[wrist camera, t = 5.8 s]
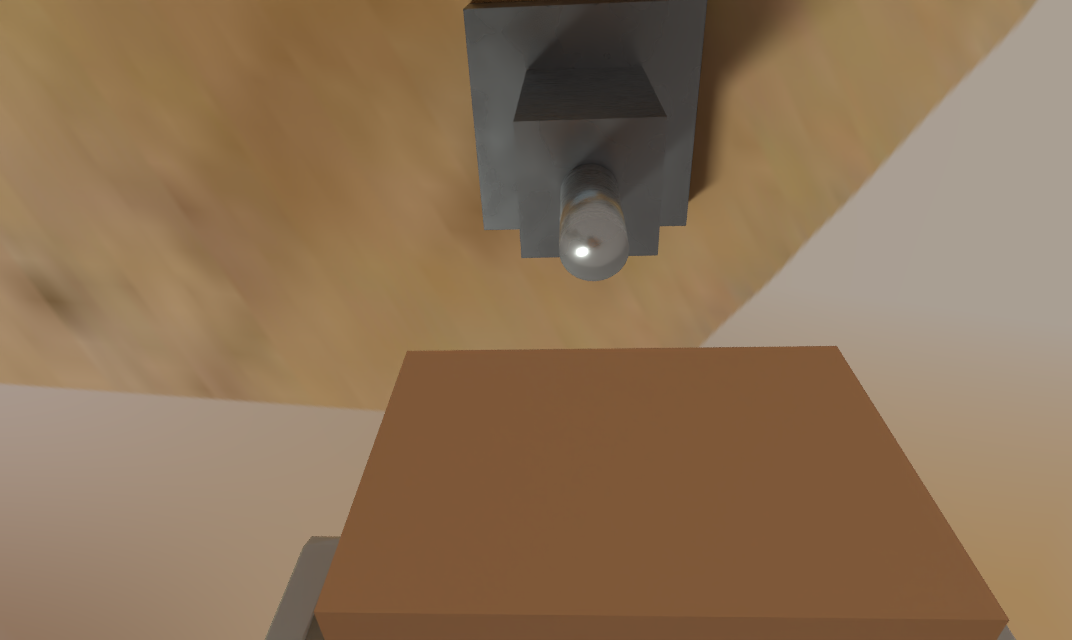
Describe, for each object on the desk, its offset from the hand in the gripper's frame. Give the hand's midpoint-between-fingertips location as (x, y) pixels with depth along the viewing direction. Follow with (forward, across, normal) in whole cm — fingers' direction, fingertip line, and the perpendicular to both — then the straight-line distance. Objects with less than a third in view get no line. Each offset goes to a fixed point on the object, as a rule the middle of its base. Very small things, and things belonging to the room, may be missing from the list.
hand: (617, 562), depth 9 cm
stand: (+25, 0, 0) cm, 25 cm away
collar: (+1, 0, 0) cm, 1 cm away
